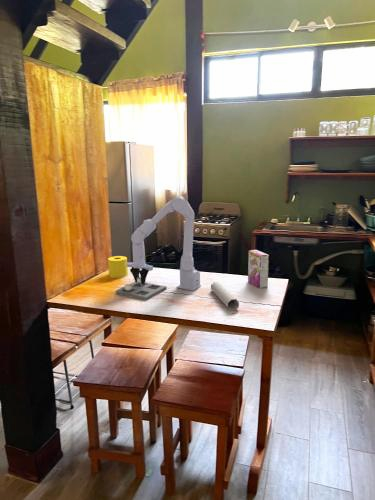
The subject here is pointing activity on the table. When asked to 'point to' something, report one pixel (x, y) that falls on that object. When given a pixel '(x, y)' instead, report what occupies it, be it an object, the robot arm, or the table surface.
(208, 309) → the table surface
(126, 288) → the pin
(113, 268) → the tape roll
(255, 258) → the candy bar box
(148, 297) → the hole board
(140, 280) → the loose pin
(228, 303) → the tube
